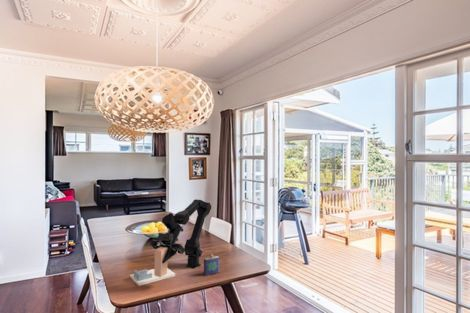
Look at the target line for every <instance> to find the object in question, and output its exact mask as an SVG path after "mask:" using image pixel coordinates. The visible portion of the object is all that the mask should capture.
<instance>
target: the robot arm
mask: <svg viewBox="0 0 470 313" xmlns="http://www.w3.org/2000/svg"><path fill="white" fill-rule="evenodd" d="M211 210H212V204H211V203H210V202H206V201H204V200H202V199H197V198H195V199H193V201H192V202H191V203H190V204H189V205H188V206H186V208H185V209H183V210H180V211H178V212H176V213H175V214H173V213H172V212H168V214H167V215H164V217H162V219H161V222H162V224H163V225H164V226H165V228H166V229H167V230H168V232H165V233H163V232H158V234H157V239H151V240H150V241H149V245H150V246H151V247H152V248H153V249H154V250H155V249H157V248H160V247H165V248H167V253H166V255H165V257H164V259H163V262H162V263H165V262H166V261H167V260H170V259H171V258H172V257H173V256H175V255H184V254H185V256H187V264H186V265H185V266H186V267H189V268H191V269H196V268H197V267H200V266H202V264H201V263H200V257H201V256H202V255H203V251H202V249H201V244H200V237H201V234H202V230H203V226H204V223H205V219H206V217H207V216H209V214H210V212H211ZM195 212H196V214H197V216H196V219H195V223H194V225H193V229H192V233H191V236H190V238H189V239H186V240H185V244H184V246H183V245H182V244H180V243H176V242H178V241H179V239H178V237H179V235H180V233H181V232H182V233H183V232H184V229H183V227H184V226H185V225H187V224H188V222H189V221H190V217H191V216H192V215H193V214H194V213H195ZM181 225H184V226H181ZM159 240H160V241H159ZM177 253H178V254H177Z"/></svg>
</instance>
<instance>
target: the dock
mask: <svg viewBox="0 0 470 313" xmlns="http://www.w3.org/2000/svg"><path fill="white" fill-rule="evenodd" d="M129 277H130V278H131V280H133V282H134V283H136V285H137V286H143V285H146V284H150V283H153V282H154V283H155V282H157V281H161V280H164V279H169V278H173V277H176V273H175V272H173V271H172V270H171V269H170V268H169V267H167V274H165V275H164V276H162V277H158V276H155V275H154V268H152V269H149V270H148V269H147V268H145V269H142V270H137V269H134V270H133V273H132V274H129Z"/></svg>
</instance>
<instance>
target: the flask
mask: <svg viewBox="0 0 470 313" xmlns="http://www.w3.org/2000/svg"><path fill="white" fill-rule="evenodd" d="M216 273H217V274H219V273H220V256H218V255H215V256H214V254H210V256H209V257H205V258H204V259H203V276H205V277H208V275H209V276H213V275H216Z"/></svg>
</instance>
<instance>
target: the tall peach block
mask: <svg viewBox="0 0 470 313" xmlns="http://www.w3.org/2000/svg"><path fill="white" fill-rule="evenodd" d="M166 253H167V248H165V247H160V248H157V249H154V268H153V269H154V275H155V276H158V277H162V276H164V275H165V274H167V268H168V263H169V262H168V260H169V259H168V260H167V261H166V262H165V263H162V262H163V259H164V257H165V255H166Z"/></svg>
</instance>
